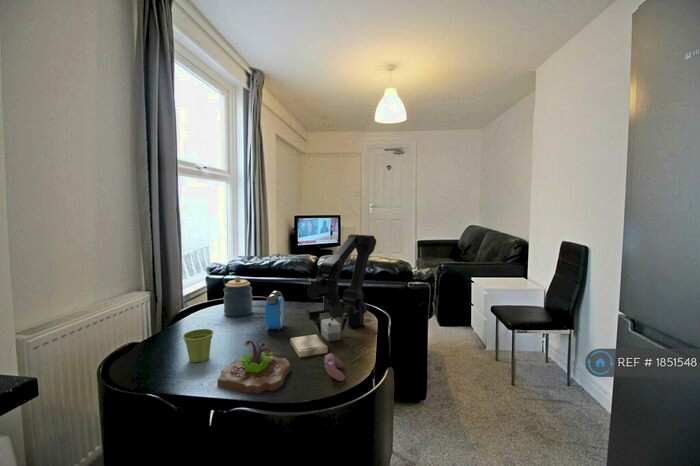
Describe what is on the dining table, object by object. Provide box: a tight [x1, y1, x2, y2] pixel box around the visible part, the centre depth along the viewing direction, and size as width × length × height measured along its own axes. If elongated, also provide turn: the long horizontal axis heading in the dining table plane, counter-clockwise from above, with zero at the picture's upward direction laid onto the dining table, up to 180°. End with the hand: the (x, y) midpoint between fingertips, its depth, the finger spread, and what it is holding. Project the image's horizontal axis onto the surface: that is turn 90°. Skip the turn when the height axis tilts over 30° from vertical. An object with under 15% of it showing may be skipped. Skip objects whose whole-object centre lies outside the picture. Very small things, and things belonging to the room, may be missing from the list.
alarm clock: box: [264, 290, 286, 332], centre depth 147 cm, size 13×6×15 cm, turn 1°
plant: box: [217, 339, 292, 394], centre depth 106 cm, size 20×20×11 cm
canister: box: [223, 276, 253, 318], centre depth 167 cm, size 13×13×18 cm
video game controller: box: [323, 352, 346, 382], centre depth 107 cm, size 10×5×7 cm, turn 5°
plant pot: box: [182, 328, 215, 364], centre depth 117 cm, size 9×9×9 cm
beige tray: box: [289, 334, 329, 358], centre depth 127 cm, size 10×13×2 cm
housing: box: [320, 317, 342, 342], centre depth 137 cm, size 5×8×7 cm, turn 23°
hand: (330, 333), depth 137 cm, fingers open, 9 cm apart
